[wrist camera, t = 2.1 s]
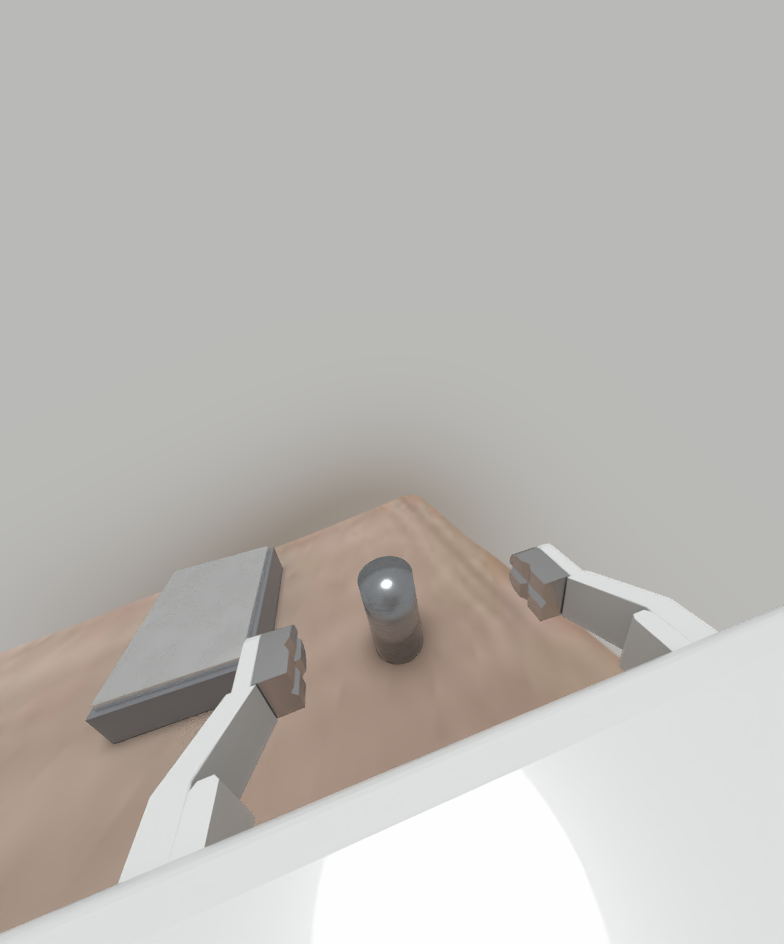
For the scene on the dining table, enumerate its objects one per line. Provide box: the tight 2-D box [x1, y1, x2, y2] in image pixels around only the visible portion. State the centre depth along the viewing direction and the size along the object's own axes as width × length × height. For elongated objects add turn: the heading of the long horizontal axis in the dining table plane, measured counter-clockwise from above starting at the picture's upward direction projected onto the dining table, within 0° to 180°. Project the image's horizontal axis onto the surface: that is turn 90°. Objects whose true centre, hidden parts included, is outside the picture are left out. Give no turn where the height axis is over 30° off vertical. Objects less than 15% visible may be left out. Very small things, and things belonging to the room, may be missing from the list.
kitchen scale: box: [85, 546, 283, 744], centre depth 33 cm, size 13×18×5 cm
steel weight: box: [358, 556, 423, 664], centre depth 28 cm, size 5×5×9 cm
